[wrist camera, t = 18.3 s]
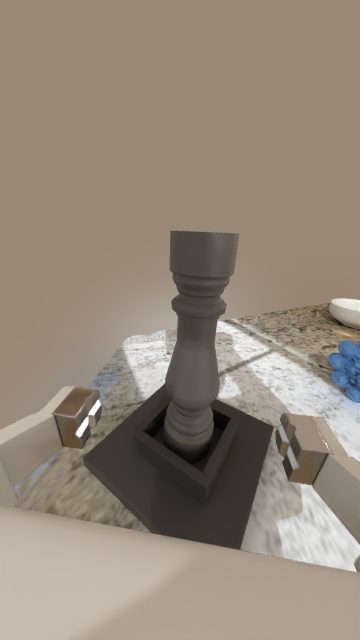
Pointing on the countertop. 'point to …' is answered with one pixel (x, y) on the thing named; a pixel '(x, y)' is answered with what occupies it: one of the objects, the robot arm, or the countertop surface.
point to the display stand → (185, 473)
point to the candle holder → (196, 338)
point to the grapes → (347, 368)
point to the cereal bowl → (346, 311)
